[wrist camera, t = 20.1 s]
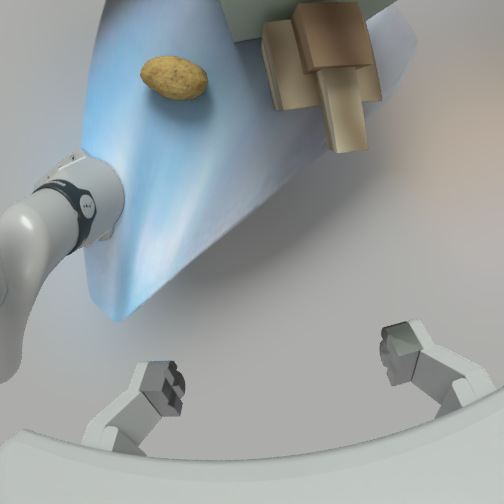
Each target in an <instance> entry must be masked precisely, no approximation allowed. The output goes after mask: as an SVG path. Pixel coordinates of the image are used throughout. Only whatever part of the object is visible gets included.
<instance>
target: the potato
mask: <svg viewBox="0 0 504 504" xmlns="http://www.w3.org/2000/svg"><path fill="white" fill-rule="evenodd" d="M140 76H141V78H142V80H143V82H144V83H145V84H146V85H148V86H149V87H150V88H152V89H154V90H155V91H157V92H158V93H159V94H161V95H162V96H164V97H167V98H169V99H177V100H188V99H193V98H196V97H198V96H199V95H200V94H202V93H203V92H204V90H205V88H206V85H207V83H208V78H207V74H206V72H205V71H204V70H203V69H202V68H200V67H199V66H198V65H196V64H194V63H192V62H190V61H187V60H185V59H182V58H179V57H176V56H162V57H155V58H153V59H151V60H148V61H147V62H146V64H145V65H144V66H143V67H142V69H141V73H140Z"/></svg>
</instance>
